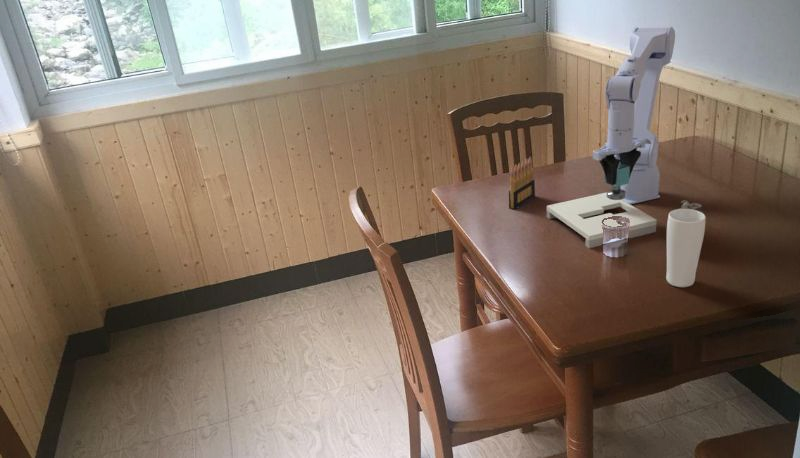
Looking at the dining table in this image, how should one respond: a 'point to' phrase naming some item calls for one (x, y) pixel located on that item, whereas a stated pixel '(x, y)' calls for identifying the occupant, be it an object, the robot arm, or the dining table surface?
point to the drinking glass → (683, 245)
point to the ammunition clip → (521, 184)
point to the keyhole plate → (599, 217)
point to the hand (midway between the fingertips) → (617, 181)
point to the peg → (619, 183)
